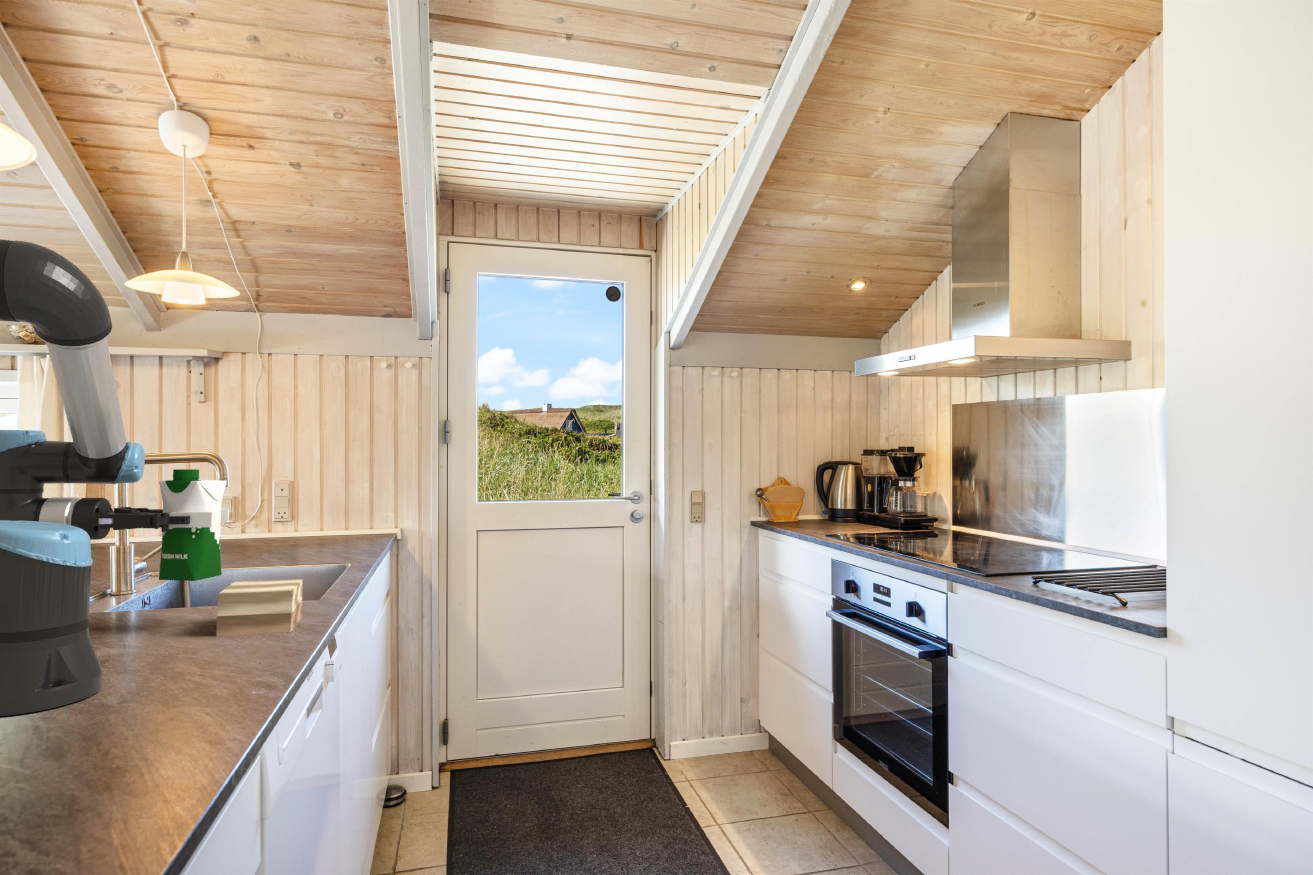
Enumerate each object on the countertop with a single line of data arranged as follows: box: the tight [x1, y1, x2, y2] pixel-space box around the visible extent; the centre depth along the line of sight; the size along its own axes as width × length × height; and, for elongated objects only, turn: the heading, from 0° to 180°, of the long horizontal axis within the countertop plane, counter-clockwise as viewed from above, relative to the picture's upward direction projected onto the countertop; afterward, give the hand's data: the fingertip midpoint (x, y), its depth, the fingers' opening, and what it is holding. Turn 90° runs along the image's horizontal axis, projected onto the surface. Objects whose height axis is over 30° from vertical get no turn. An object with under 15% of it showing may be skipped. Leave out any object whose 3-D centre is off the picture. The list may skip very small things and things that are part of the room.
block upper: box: [217, 578, 304, 616], centre depth 137 cm, size 12×12×4 cm
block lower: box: [215, 599, 304, 637], centre depth 137 cm, size 12×12×4 cm
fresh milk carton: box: [158, 468, 228, 582], centre depth 135 cm, size 9×9×20 cm
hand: (220, 517), depth 136 cm, fingers closed on fresh milk carton, 9 cm apart
